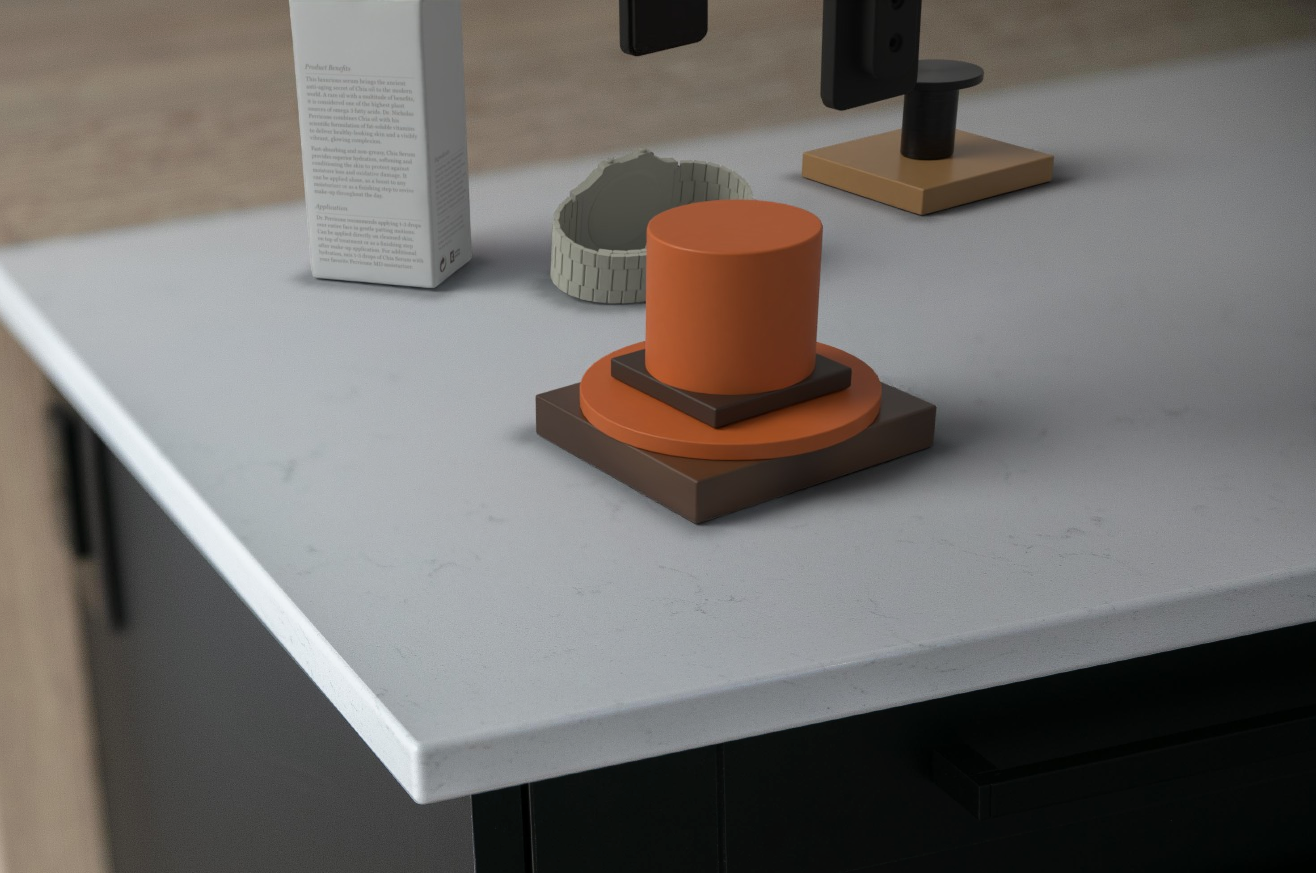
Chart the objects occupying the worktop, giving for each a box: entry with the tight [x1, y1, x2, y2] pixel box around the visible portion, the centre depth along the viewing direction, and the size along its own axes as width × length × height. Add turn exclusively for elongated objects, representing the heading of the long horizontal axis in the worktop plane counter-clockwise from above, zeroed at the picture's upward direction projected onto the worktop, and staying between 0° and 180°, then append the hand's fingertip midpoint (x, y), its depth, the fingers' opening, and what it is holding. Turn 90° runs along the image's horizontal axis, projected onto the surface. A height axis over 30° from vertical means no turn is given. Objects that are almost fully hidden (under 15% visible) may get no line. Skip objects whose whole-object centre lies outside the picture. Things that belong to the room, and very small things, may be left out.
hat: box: [580, 199, 882, 461], centre depth 65 cm, size 10×10×6 cm
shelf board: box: [535, 381, 938, 524], centre depth 66 cm, size 10×9×2 cm
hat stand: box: [801, 58, 1055, 216], centre depth 90 cm, size 8×8×5 cm
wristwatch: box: [550, 146, 754, 304], centre depth 80 cm, size 9×6×5 cm
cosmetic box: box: [288, 0, 473, 289], centre depth 82 cm, size 6×4×12 cm
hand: (760, 72), depth 61 cm, fingers open, 9 cm apart
